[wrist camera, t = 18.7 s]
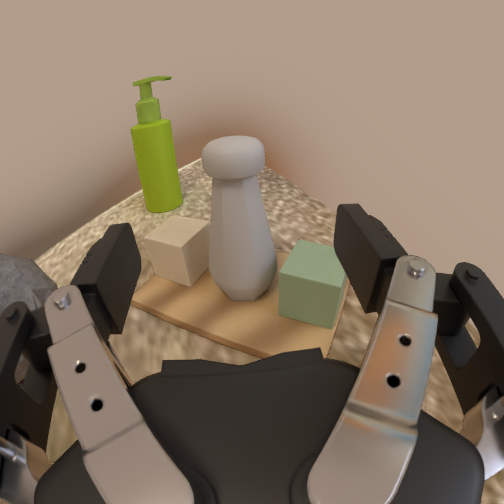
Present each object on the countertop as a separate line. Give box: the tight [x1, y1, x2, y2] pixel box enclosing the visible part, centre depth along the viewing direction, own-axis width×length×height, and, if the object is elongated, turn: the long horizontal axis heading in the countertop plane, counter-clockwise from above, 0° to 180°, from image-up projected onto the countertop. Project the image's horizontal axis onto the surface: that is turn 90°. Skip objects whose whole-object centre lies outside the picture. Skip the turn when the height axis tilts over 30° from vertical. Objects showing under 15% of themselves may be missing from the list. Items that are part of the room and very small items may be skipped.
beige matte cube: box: [144, 215, 210, 287], centre depth 27 cm, size 4×4×4 cm
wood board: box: [131, 251, 350, 359], centre depth 26 cm, size 18×12×1 cm, turn 65°
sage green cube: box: [278, 240, 347, 329], centre depth 22 cm, size 4×4×4 cm
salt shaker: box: [202, 136, 278, 301], centre depth 22 cm, size 6×6×13 cm
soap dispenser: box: [131, 76, 183, 213], centre depth 38 cm, size 6×7×20 cm
